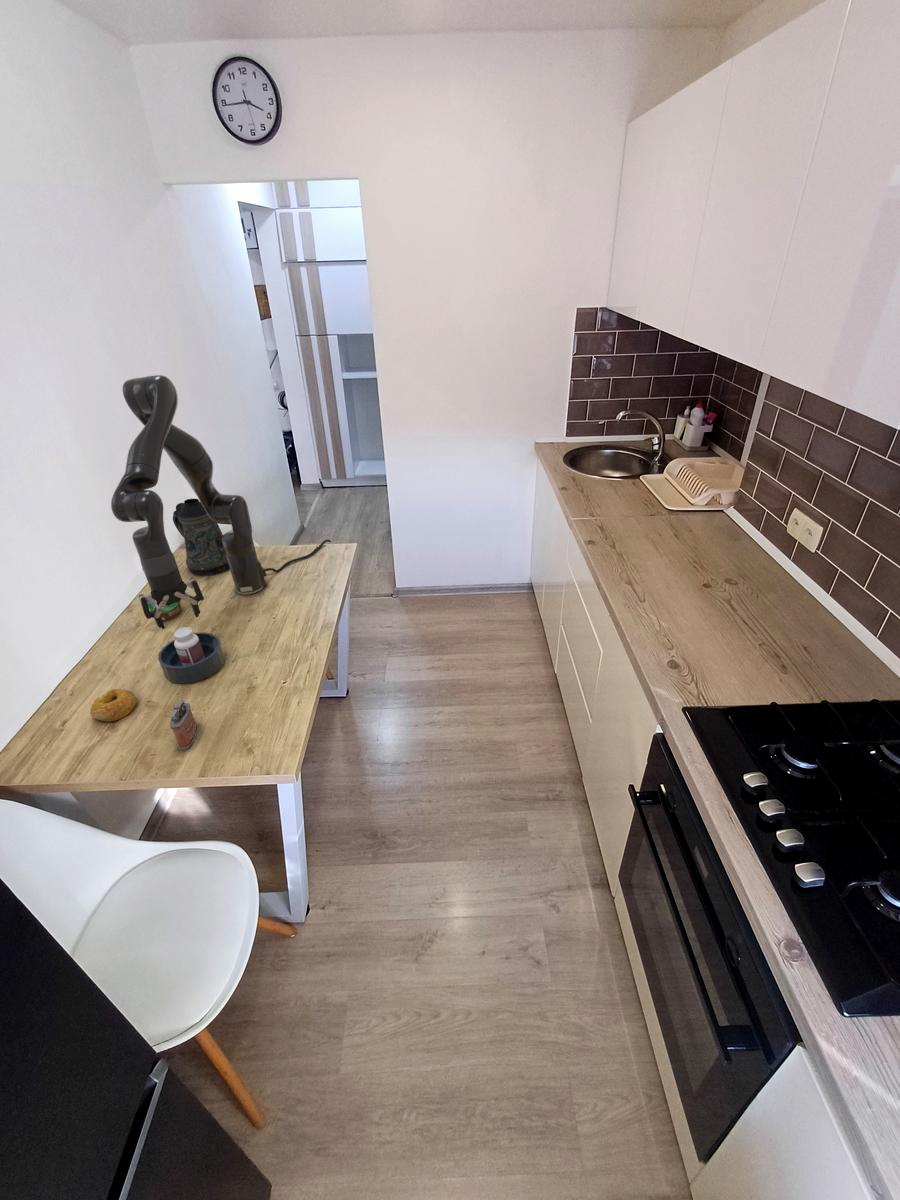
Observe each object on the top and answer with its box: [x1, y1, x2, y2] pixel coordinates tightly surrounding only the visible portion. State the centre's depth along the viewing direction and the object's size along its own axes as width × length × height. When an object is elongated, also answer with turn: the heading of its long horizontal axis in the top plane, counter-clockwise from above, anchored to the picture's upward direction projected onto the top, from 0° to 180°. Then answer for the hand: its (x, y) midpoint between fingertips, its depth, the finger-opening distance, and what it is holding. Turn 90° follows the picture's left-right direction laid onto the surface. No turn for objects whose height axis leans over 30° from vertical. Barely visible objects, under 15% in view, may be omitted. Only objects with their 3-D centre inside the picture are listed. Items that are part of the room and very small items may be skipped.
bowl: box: [157, 631, 226, 684], centre depth 156 cm, size 16×16×6 cm
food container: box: [148, 598, 182, 623], centre depth 178 cm, size 12×6×10 cm, turn 168°
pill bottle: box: [173, 626, 206, 666], centre depth 154 cm, size 6×6×11 cm
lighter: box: [169, 698, 200, 752], centre depth 132 cm, size 8×3×10 cm, turn 5°
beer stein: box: [172, 498, 230, 577], centre depth 202 cm, size 16×19×25 cm
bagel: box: [90, 688, 138, 723], centre depth 143 cm, size 10×11×5 cm
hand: (180, 621), depth 150 cm, fingers open, 8 cm apart
